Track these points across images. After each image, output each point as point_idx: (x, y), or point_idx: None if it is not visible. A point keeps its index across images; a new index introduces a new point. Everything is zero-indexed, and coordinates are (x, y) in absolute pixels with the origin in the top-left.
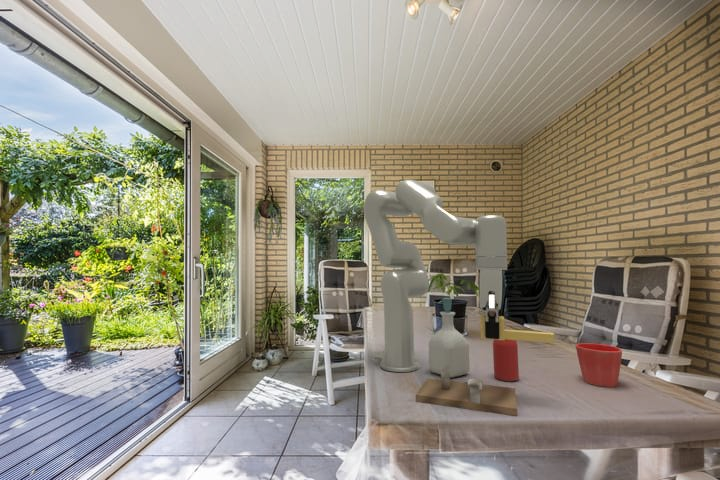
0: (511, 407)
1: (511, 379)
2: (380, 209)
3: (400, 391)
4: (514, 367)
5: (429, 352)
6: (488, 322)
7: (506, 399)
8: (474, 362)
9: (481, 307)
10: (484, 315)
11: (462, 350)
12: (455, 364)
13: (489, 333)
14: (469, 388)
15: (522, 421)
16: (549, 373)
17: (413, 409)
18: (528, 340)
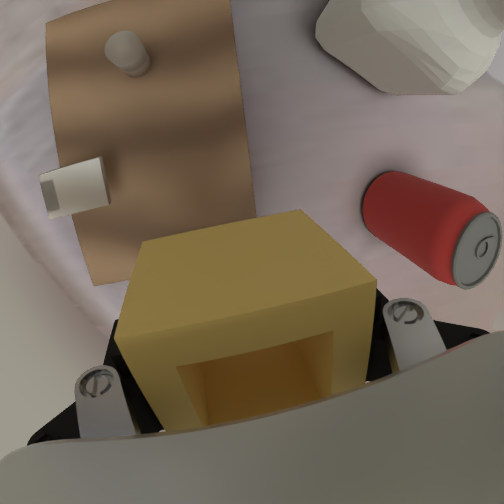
0: (93, 274)
1: (366, 224)
2: None
3: None
4: (390, 245)
5: None
6: (122, 373)
7: None
8: (484, 109)
9: (1, 461)
10: (358, 314)
11: (408, 68)
12: (345, 48)
13: (116, 325)
14: (181, 129)
15: (78, 291)
16: (446, 287)
17: (5, 55)
18: None
